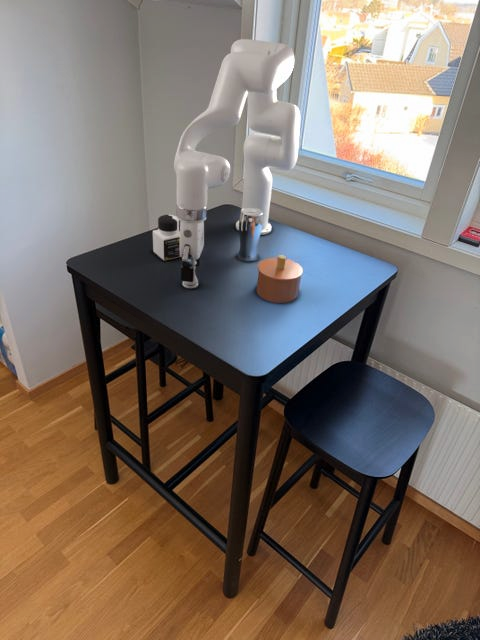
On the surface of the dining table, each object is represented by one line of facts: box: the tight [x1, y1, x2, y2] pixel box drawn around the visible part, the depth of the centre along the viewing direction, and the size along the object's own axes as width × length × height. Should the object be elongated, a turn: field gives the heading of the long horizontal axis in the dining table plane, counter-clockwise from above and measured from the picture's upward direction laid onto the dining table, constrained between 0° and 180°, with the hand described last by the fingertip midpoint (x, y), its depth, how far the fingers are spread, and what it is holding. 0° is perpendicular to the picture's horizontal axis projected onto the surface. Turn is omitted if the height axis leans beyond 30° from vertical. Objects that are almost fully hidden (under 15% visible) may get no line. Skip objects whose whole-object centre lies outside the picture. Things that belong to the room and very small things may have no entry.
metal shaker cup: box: [237, 207, 263, 262], centre depth 142 cm, size 7×7×15 cm
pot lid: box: [257, 254, 304, 281], centre depth 125 cm, size 12×12×4 cm
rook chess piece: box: [181, 259, 199, 290], centre depth 127 cm, size 4×4×8 cm
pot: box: [256, 271, 302, 304], centre depth 128 cm, size 11×11×7 cm
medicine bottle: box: [152, 214, 181, 262], centre depth 140 cm, size 7×7×12 cm
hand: (190, 272), depth 127 cm, fingers open, 8 cm apart
